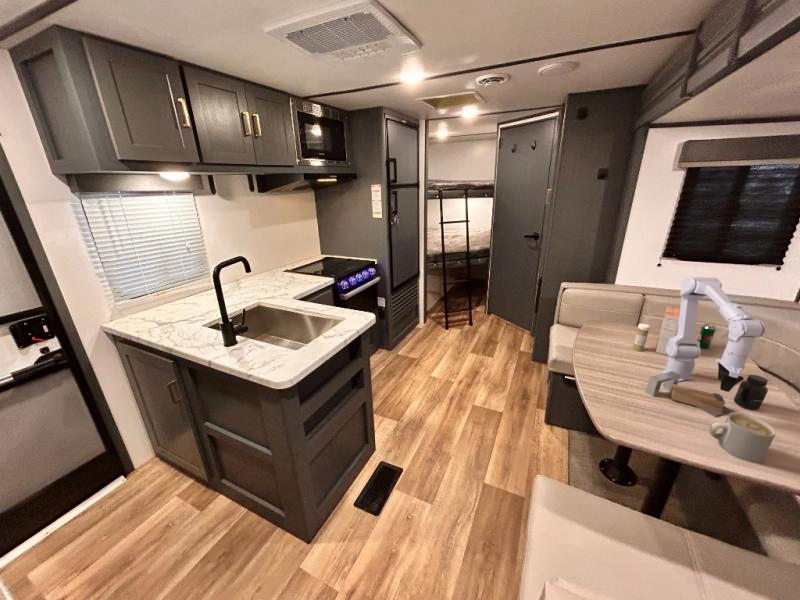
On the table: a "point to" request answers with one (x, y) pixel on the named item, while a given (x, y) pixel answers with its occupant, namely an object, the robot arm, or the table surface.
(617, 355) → the table surface
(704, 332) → the soda can
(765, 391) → the supplement bottle
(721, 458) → the table surface
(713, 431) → the coffee mug
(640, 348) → the sprinkles bottle
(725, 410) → the pad
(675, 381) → the housing
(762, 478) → the table surface
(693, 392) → the wooden block
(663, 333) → the cracker box
